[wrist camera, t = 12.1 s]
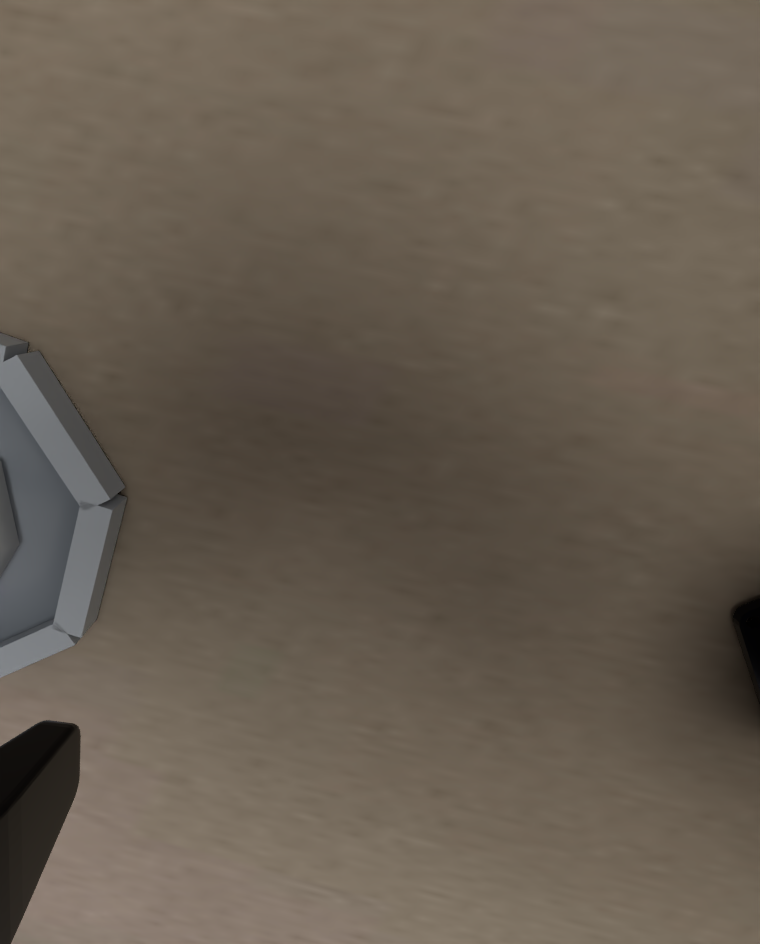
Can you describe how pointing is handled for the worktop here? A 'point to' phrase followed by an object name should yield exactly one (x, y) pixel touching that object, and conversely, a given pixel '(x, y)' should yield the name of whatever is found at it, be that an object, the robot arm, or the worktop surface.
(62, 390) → the rimmed tray
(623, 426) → the worktop surface
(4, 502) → the flask
